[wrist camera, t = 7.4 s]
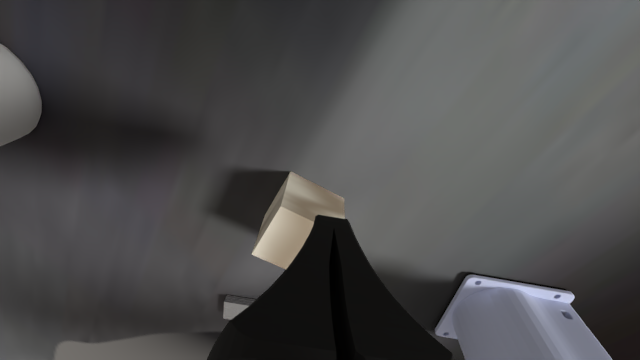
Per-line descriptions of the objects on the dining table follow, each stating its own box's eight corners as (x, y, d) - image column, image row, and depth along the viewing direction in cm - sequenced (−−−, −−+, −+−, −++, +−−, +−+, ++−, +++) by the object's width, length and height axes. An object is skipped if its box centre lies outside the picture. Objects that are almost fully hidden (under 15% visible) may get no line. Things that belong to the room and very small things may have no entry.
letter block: (343, 197, 24) (345, 237, 20) (314, 239, 26) (309, 281, 22) (290, 170, 23) (280, 206, 19) (264, 216, 25) (250, 256, 21)
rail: (392, 321, 30) (394, 329, 29) (385, 337, 31) (386, 344, 31) (226, 294, 29) (224, 301, 29) (225, 311, 30) (223, 318, 30)
